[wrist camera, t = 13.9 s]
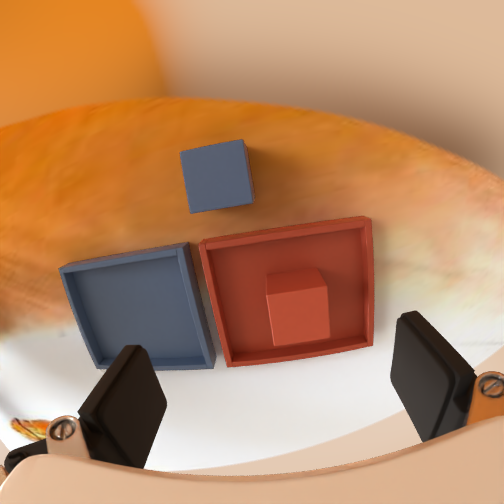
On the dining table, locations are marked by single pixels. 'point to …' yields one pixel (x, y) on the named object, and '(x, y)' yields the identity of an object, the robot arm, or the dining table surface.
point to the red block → (298, 306)
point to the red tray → (285, 260)
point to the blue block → (217, 176)
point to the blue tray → (141, 307)
